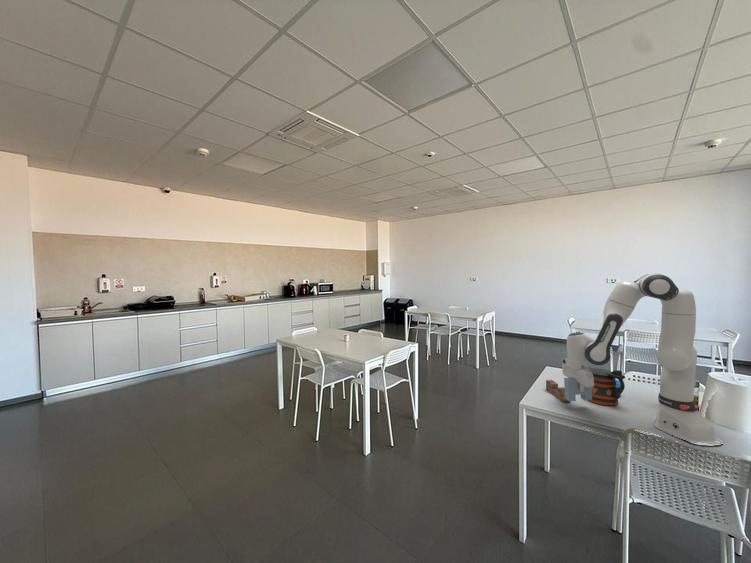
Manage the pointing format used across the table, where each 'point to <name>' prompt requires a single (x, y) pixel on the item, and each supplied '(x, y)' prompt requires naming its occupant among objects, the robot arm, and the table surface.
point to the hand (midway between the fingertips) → (578, 389)
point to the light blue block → (576, 390)
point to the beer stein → (606, 386)
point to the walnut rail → (556, 390)
